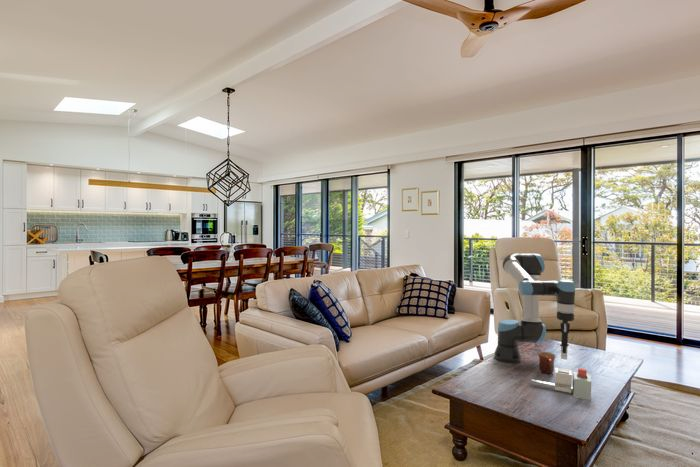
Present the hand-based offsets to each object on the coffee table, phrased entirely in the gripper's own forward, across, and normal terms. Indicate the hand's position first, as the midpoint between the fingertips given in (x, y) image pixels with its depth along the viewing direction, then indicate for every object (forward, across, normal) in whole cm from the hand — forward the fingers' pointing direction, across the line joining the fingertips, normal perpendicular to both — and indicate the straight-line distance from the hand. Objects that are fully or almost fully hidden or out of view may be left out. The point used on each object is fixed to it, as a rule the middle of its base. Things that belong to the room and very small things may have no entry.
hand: (563, 358), depth 192 cm
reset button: (+7, 0, -8) cm, 11 cm away
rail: (+16, 0, +4) cm, 17 cm away
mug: (+17, +20, +8) cm, 27 cm away
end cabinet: (+16, 0, -8) cm, 18 cm away
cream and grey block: (+15, 0, 0) cm, 15 cm away
